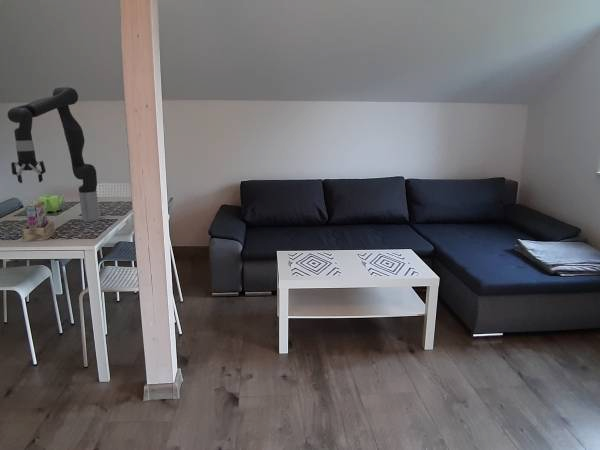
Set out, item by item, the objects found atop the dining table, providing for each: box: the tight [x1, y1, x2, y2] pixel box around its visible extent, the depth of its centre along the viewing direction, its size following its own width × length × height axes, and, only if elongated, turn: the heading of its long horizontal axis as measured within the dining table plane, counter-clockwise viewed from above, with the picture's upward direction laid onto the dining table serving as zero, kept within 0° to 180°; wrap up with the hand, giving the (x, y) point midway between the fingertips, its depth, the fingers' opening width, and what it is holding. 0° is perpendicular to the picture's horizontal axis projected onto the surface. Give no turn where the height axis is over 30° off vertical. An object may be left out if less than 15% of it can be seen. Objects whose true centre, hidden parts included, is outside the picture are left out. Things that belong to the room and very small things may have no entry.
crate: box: [20, 219, 56, 243], centre depth 228 cm, size 11×17×6 cm, turn 17°
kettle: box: [31, 194, 67, 214], centre depth 283 cm, size 15×14×11 cm
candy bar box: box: [25, 201, 48, 229], centre depth 227 cm, size 11×5×16 cm, turn 7°
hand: (30, 182), depth 222 cm, fingers open, 8 cm apart
